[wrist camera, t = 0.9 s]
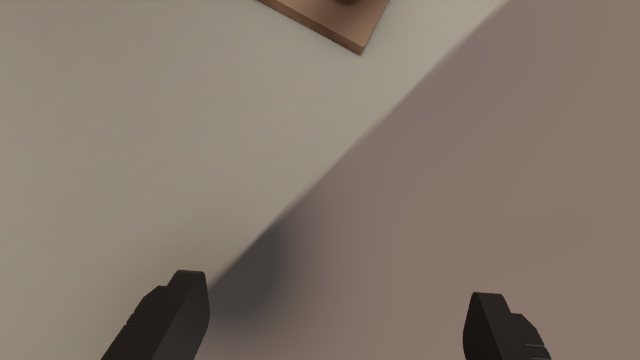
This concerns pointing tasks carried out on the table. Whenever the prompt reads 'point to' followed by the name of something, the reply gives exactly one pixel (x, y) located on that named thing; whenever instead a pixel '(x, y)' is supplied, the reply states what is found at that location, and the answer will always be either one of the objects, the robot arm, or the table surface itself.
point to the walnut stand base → (335, 18)
